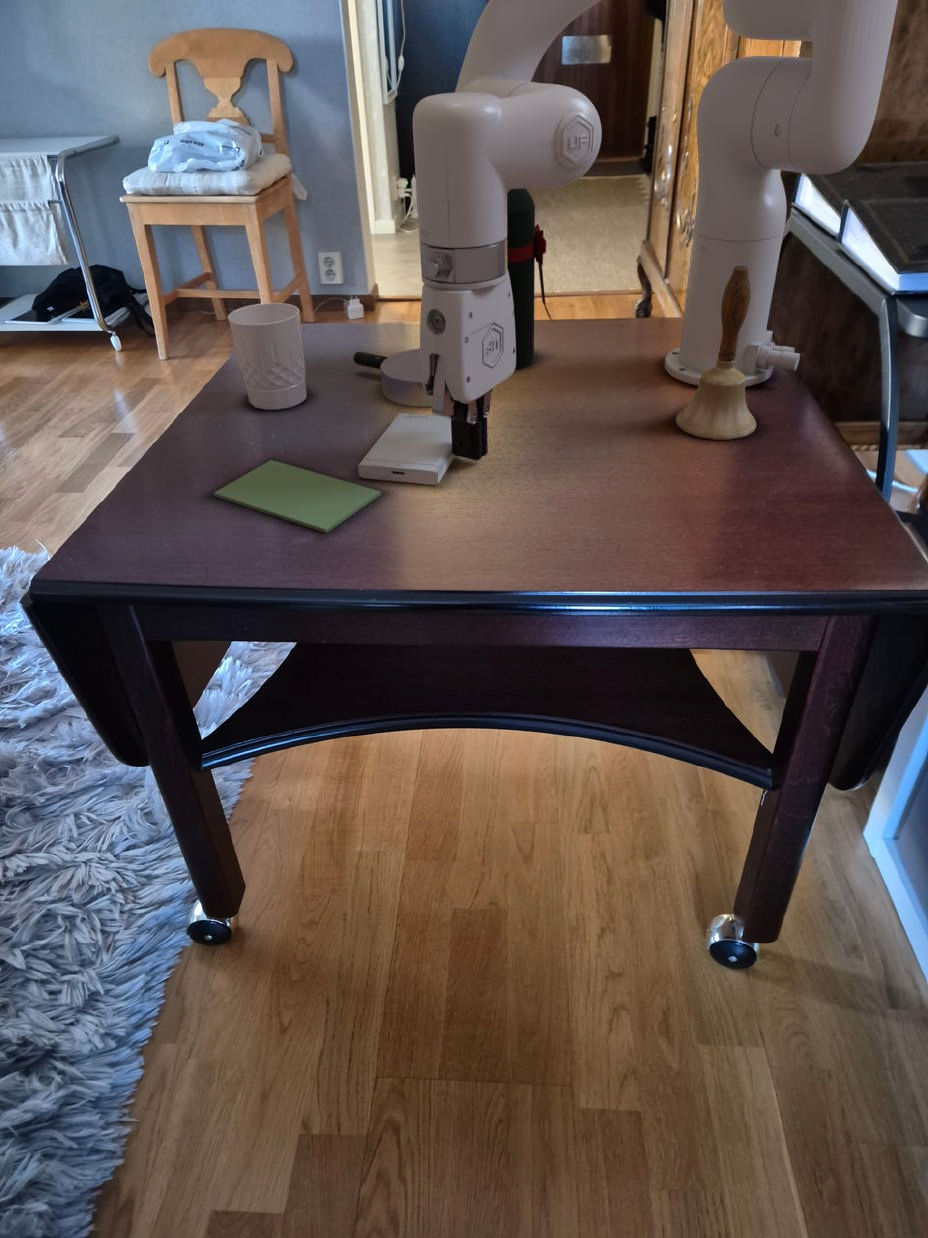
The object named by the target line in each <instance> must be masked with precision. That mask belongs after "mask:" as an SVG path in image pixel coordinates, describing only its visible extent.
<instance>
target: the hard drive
mask: <svg viewBox="0 0 928 1238" xmlns="http://www.w3.org/2000/svg"><path fill="white" fill-rule="evenodd" d="M455 457H456V455H454V454H453V452H452V436H451V420H450V419H448V418H447V417H443V416H439V415H434V414H432V415H431V414H419V413H418V414H417V413H405V412H404V413H403V412H402V413H399V414H397V416H396V417H395V418H394V420H393V421H391V423H390V425H388V427H387V428H386V429H385V431H384V432H383V433H382V435H381V436H380V437H379V439H378V440H377V441H376V442H374V444H373V446H372V447H371V449H369V451H368V452H367V453H366V454H365V456H364V457H363V459H362V460H361V461H360V463H359V464H358V465H357V470H358V471H357V472H358V476H359V477H360V478H363V479H368V480H380V481H390V482H399V483H409V484H410V483H411V484H418V485H428V486H429V485H430V486H435V485H438V484H439V483H440V482H441V480H442V478H443V477H444V475H445V473H446V472H447V470H448V469H449V467H450V465H451V464H452V462H453V460H454V458H455Z"/></svg>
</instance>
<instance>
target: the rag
mask: <svg viewBox="0 0 928 1238" xmlns="http://www.w3.org/2000/svg"><path fill="white" fill-rule="evenodd" d="M381 495H382V493H381V491H380V490H378V489H374V488H370V487H368V486H367V487H366V486H363V485H360V484H356V483H353V482H350V481H345V480H342V479H339V478H336V477H332V476H328V475H325V474H322V473H318V472H316V471H312V470H307V469H305V468H302V467H301V468H300V467H297V466H294V465H291V464H287V463H284V462H280V461H277V460H273V459H270V460H268V461H266V462H265V463H263V464H261V465H259V466H258V467H256V468H254V469H252V470H250V471H249V472H247V473H245V474H244V475H242V476H240V477H238V478H237V479H235V480H233V481H231V482H230V483H228V484H227V485H225V486H223V487H221V488H219V489H218V490H216V491H214V492H213V496H214V497H215V498H219V499H222V500H224V501H228V502H231V503H234V504H236V505H240V506H243V507H246V508H249V509H251V510H254V511H258V512H260V513H265V514H267V515H269V516H273V517H276V518H278V519H279V518H280V519H282V520H285V521H288V522H291V523H294V524H298V525H300V526H303V527H307V528H310V529H312V530H315V531H319V532H322V533H325V534H328V533H329V532H330V531H332V530H333V529H335V528H336V527H338V526H339V525H340V524H342V523H343V522H345V521H346V520H348V519H349V518H350V517H352V516H353V515H355V514H356V513H357V512H359V511H360V510H362V509H363V508H365V507H366V506H367V505H369V504H370V503H372V502H373V501H374V500H376V499H378V497H380V496H381Z"/></svg>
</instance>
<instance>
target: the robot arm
mask: <svg viewBox="0 0 928 1238" xmlns="http://www.w3.org/2000/svg"><path fill="white" fill-rule="evenodd" d="M600 2H602V0H489V1H488V3H487V4H486V5H485V8H484V10H483V11H482V13H481V15H480V17H479V18H478V21H477V23H476V25H475V27H474V29H473V32H472V35H471V37H470V40H469V43H468V47H467V50H466V53H465V56H464V60H463V63H462V65H461V66H462V67H461V69H460V72H459V76H458V79H457V84H456V85H455V86H456V87H455V90H454V92H446V93H445V92H443V93H438V94H433V95H429V96H425V97H424V98H422V99H420V100H419V101H418V102H417V104H416V105H415V107H414V110H413V113H412V136H413V154H414V155H413V156H414V170H415V172H414V173H415V186H416V188H415V189H416V205H417V221H418V237H419V257H420V270H421V271H420V272H421V281H422V283H423V285H422V289H421V299H420V316H419V349H420V361H421V375H422V383H423V388H424V391H425V393H426V394H427V395H428V396H433V401H432V406H431V414H432V415H433V416H443V417H447V418H448V419H450V420H451V436H452V452H453V454H454V455H455V457H460V458H464V459H468V460H473V461H476V462H478V461H480V460H481V459H483V457H485V456H486V455H488V453H489V444H488V442H489V441H488V440H489V438H488V415H489V414H490V412H491V400H492V392H493V390H494V389H495V388H496V387H497V386H499V385H500V384H501V383H503V382H505V381H506V380H507V379H509V378H510V377H511V376H512V375H513V374H514V372H515V371H516V370H515V367H516V338H515V319H514V305H513V296H512V289H511V283H510V278H509V273H508V270H507V192H508V191H509V190H511V189H521V188H526V189H533V190H534V189H537V190H552V189H553V190H554V189H559V188H563V187H565V186H569V185H570V184H573V183H574V182H576V181H578V180H579V179H580V178H582V177H583V176H584V175H585V174H587V172H588V171H589V169H590V168H591V167H592V166H593V165H594V162H595V161H596V159H597V157H598V154H599V151H600V148H601V144H602V133H603V132H602V131H603V129H602V123H601V122H602V121H601V119H600V115H599V113H598V111H597V109H596V107H595V105H594V104H593V103H592V101H591V100H590V99H589V98H588V97H587V96H586V95H585V94H584V93H582V92H580V91H579V90H577V89H575V88H573V87H570V86H566V85H562V84H555V83H546V82H545V83H544V82H537V81H532V79H533V77H534V76H535V72H536V70H537V68H538V66H539V64H540V62H541V60H542V58H543V56H544V55H545V53H546V52H547V51H548V49H549V47H550V46H551V45H552V43H553V42H554V41H555V39H556V38H557V37H558V36H559V35H560V34H561V33H562V32H563V30H564V29H565V28H566V27H568V26H569V24H571V23H572V22H573V21H574V20H575V19H576V18H578V17H579V16H581V15H582V14H584V13H585V12H586V11H587V10H589V9H591V8H592V7H594V6H595V5H597V4H598V3H600ZM898 3H899V0H722V13H723V18H724V22H725V24H726V26H727V28H728V29H729V30H730V32H732V33H733V34H734V35H736V36H739V37H741V38H744V39H749V40H759V41H785V42H786V41H789V42H811V43H812V44H811V45H812V49H811V50H812V51H811V57H799V56H782V55H781V56H779V55H777V56H776V55H752V56H744V57H741V58H737V59H734V60H731V61H729V62H727V63H725V64H724V65H722V66H720V68H718V69H717V70H716V71H715V72H714V73H713V74H712V75H711V77H709V79H708V81H707V82H706V84H705V85H704V87H703V90H702V92H701V94H700V97H699V101H698V104H697V110H696V121H695V122H696V125H695V128H696V130H695V131H696V144H697V145H696V146H697V159H698V160H697V163H698V165H697V167H698V179H697V180H698V182H697V195H696V205H695V217H694V224H693V233H692V242H691V249H690V250H691V251H690V258H689V266H688V267H689V268H688V276H687V285H686V293H685V302H684V310H683V319H682V328H681V335H680V344H679V347H677V348H675V349H672V350H670V351H669V352H668V353H667V354H666V356H665V358H664V370H665V371H666V372H667V374H669V376H671V377H673V378H675V380H677V381H680V382H683V383H686V384H689V385H694V386H698V385H699V382H700V378H701V375H702V373H703V372H704V371H705V370H707V369H709V368H713V367H715V366H716V365H717V360H718V354H719V352H720V351H719V350H720V345H721V340H722V334H723V327H722V320H721V307H722V299H723V294H724V291H725V288H726V286H727V284H728V282H729V280H730V278H731V276H732V273H733V271H734V268H735V267H736V266H746V267H748V276H749V282H750V291H751V296H750V303H749V308H748V312H747V315H746V318H745V320H744V322H743V324H742V327H741V329H740V331H739V335H738V341H737V349H736V358H735V359H734V360H735V363H734V368H735V369H737V370H739V371H740V372H742V373H743V374H744V376H745V378H746V381H745V388H747V387H751V386H754V385H758V384H761V383H763V382H765V381H766V380H768V379H769V378H771V376H772V375H773V370H774V367H775V368H778V369H779V370H780V369H781V370H787V371H793V372H795V371H797V368H798V366H799V364H800V363H799V362H800V359H801V354H800V353H798V352H795V350H796V347H791V346H786V345H776V343H775V342H774V341H773V342H772V338H773V333H774V332H773V331H772V330H768V329H767V327H768V322H769V316H770V311H771V304H772V299H773V294H774V287H775V283H776V276H777V271H778V265H779V260H780V254H781V253H780V252H781V250H782V249H781V248H782V244H783V243H782V242H783V238H784V237H783V236H784V233H785V227H786V221H787V211H788V210H787V208H788V207H787V197H786V191H785V186H784V182H783V179H782V176H781V173H780V171H785V172H792V173H800V174H807V175H820V176H825V175H826V176H827V175H832V174H837V173H839V172H841V171H843V170H845V169H847V168H848V167H850V166H851V165H852V164H853V163H854V162H855V161H856V159H857V158H858V157H859V156H860V154H861V153H862V151H863V150H864V148H865V145H866V144H867V142H868V140H869V137H870V134H871V132H872V130H873V125H874V123H875V120H876V115H877V111H878V106H879V101H880V97H881V92H882V87H883V82H884V77H885V71H886V66H887V61H888V56H889V50H890V45H891V40H892V34H893V29H894V24H895V19H896V14H897V8H898ZM457 400H459V401H457Z"/></svg>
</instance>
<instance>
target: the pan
mask: <svg viewBox="0 0 928 1238" xmlns="http://www.w3.org/2000/svg"><path fill="white" fill-rule="evenodd" d="M352 359H353V362H354V363H355V365H358V366H361V367H367V368H371V369H375V370H376V369H377V370H380V375H381V376H380V378H381V385H382V386H381V387H382V394H383V396H384V397H385V398H386V399H387V400H389V401H391V402H393V403H394V404H398V405H401V406H408V407H420V408H421V407H422V408H426V407H427V408H428V407H429V408H430V407H432V401H433V396H428V395H427V394H426V393H425V391H424V388H423V383H422V375H421V361H420V348H413V349H407V350H404V351H401V352H397V353H395V354H392V355H389V356H385V355H380V354H374V353H371V352H370V353H369V352H365V351H356V352H355V353H354V354H353V357H352ZM457 401H459V400H457Z"/></svg>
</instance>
